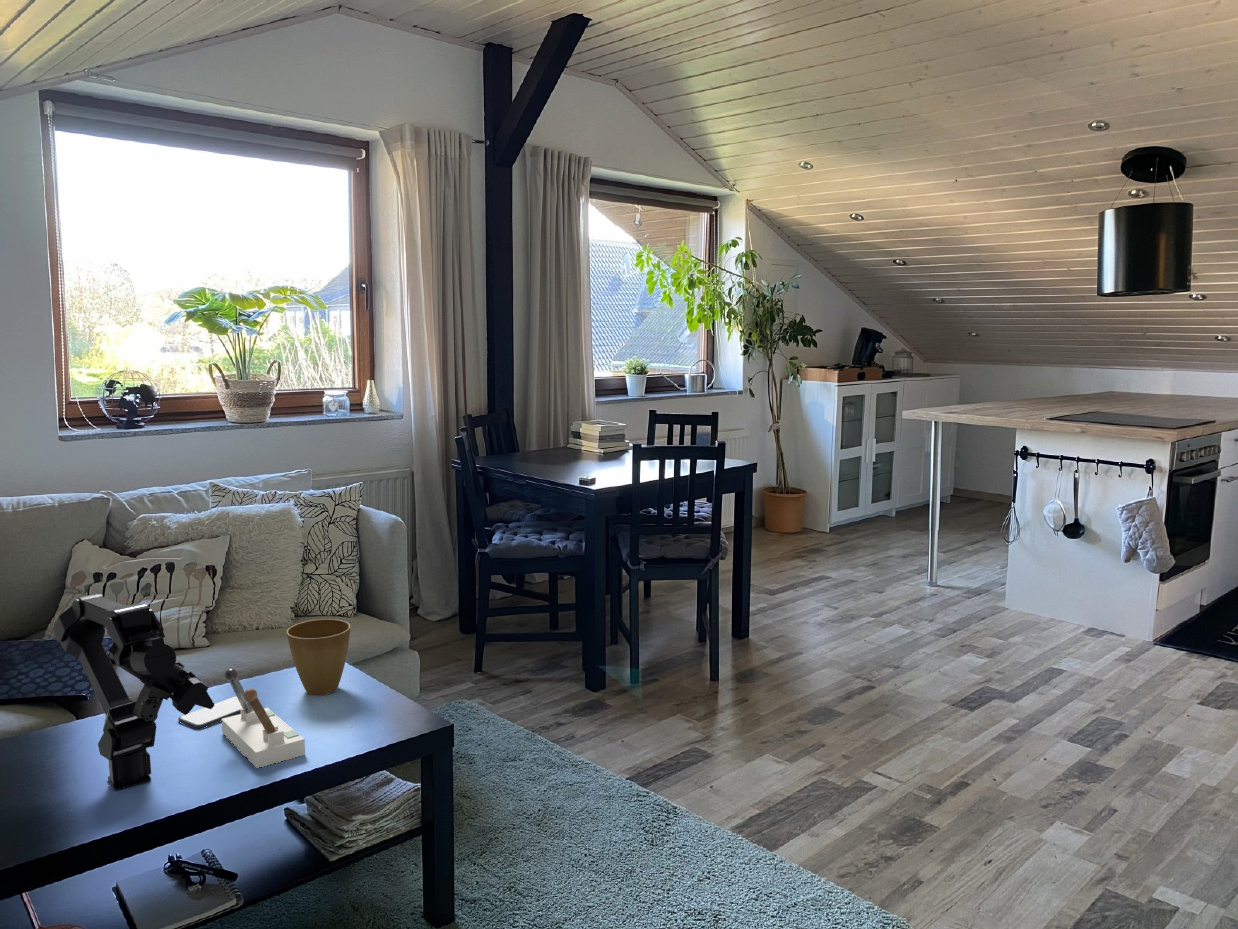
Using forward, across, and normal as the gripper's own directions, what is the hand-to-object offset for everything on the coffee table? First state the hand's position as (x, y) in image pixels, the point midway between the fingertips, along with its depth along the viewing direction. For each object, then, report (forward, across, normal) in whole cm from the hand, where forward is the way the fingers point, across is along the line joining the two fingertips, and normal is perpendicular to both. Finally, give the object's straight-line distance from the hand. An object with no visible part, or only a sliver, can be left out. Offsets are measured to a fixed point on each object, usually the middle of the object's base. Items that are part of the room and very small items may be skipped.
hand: (212, 706), depth 188 cm
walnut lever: (+15, 0, +2) cm, 15 cm away
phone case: (+17, -30, -3) cm, 34 cm away
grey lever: (+15, -14, +2) cm, 20 cm away
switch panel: (+18, -7, -1) cm, 19 cm away
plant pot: (+34, -29, +14) cm, 46 cm away
